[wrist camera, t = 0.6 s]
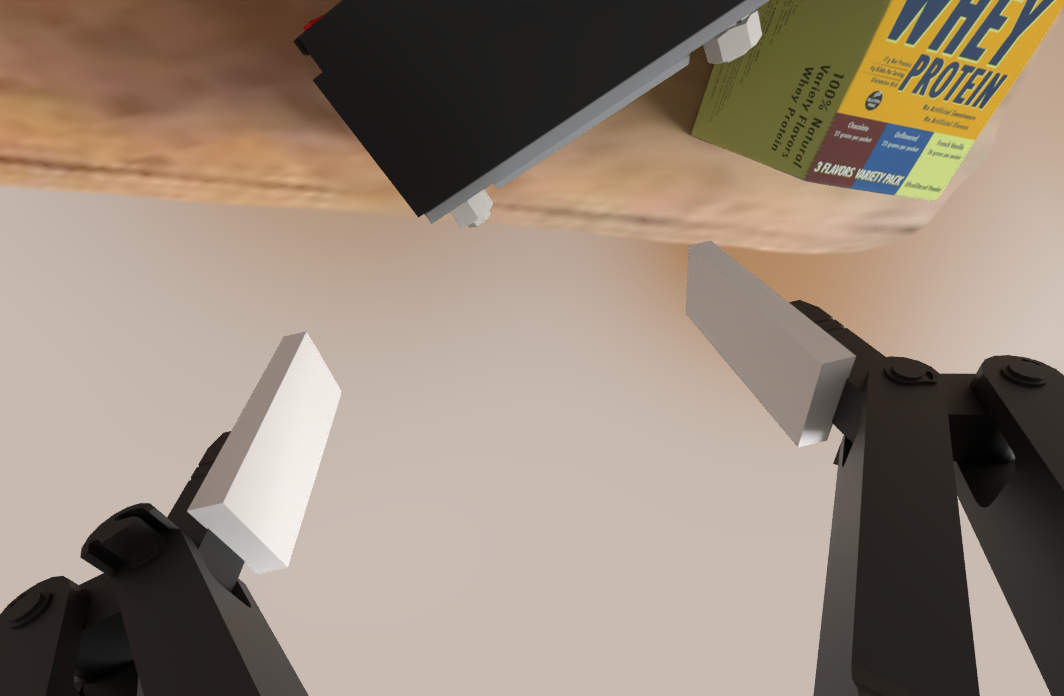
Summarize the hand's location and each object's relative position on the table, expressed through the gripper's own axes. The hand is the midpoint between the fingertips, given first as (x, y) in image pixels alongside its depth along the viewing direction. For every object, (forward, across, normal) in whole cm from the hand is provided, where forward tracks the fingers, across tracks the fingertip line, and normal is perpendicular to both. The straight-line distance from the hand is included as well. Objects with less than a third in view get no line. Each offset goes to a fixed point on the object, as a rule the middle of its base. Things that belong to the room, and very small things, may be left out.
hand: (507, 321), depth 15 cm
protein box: (+27, +26, +3) cm, 38 cm away
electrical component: (+27, +4, +8) cm, 29 cm away
